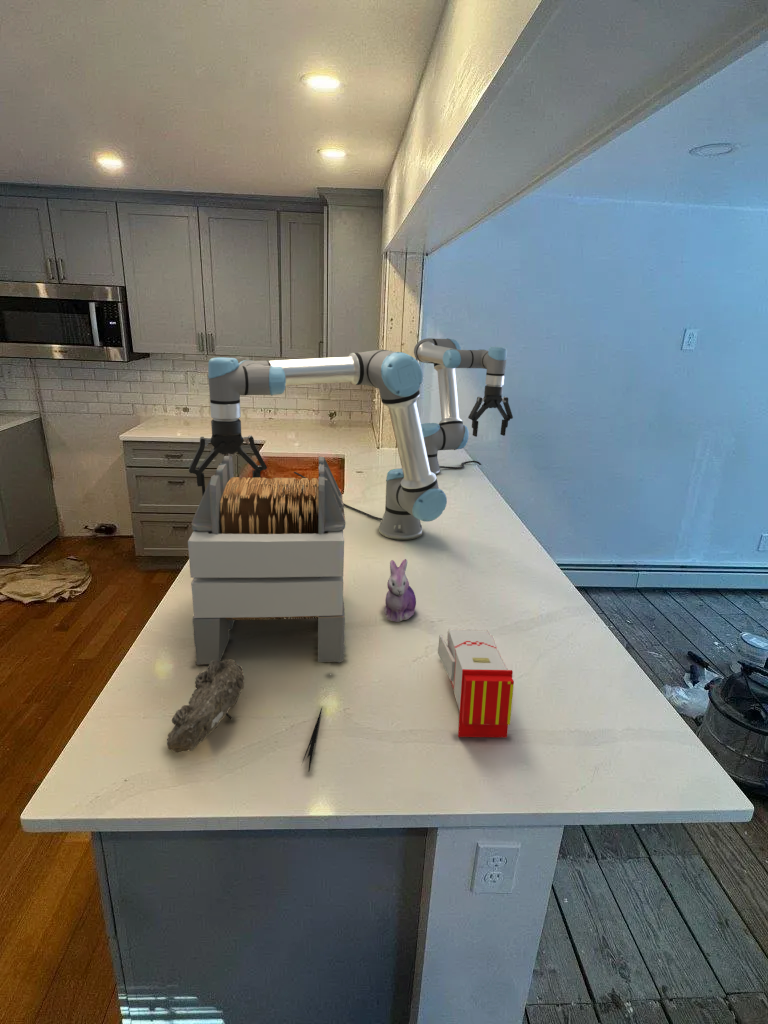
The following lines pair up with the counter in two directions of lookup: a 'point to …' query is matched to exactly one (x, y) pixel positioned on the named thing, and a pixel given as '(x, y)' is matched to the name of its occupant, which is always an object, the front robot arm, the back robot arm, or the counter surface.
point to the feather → (313, 740)
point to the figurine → (399, 594)
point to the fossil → (206, 705)
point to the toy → (478, 682)
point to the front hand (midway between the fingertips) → (229, 495)
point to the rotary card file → (267, 557)
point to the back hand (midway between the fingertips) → (488, 435)
